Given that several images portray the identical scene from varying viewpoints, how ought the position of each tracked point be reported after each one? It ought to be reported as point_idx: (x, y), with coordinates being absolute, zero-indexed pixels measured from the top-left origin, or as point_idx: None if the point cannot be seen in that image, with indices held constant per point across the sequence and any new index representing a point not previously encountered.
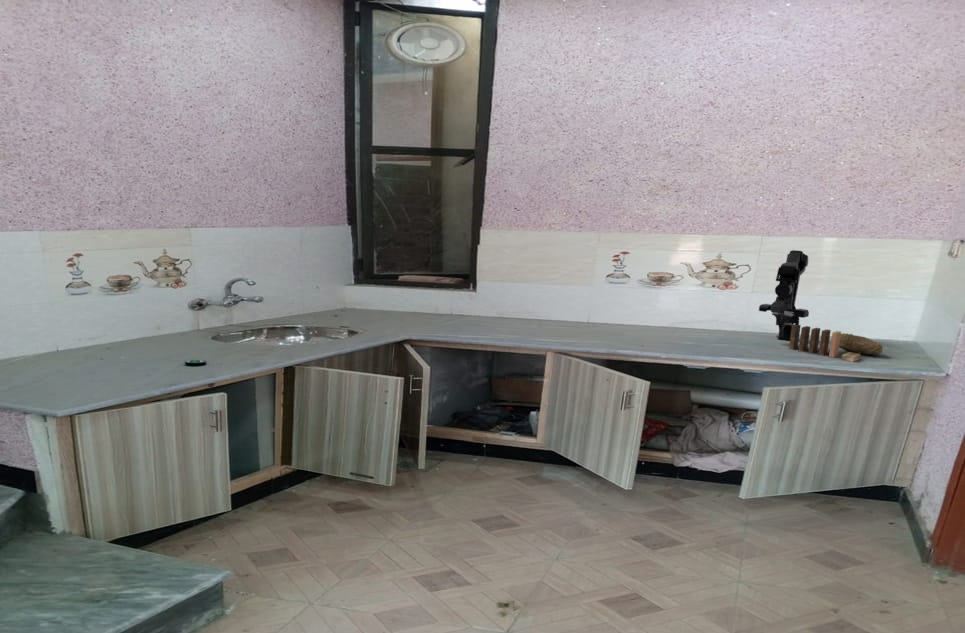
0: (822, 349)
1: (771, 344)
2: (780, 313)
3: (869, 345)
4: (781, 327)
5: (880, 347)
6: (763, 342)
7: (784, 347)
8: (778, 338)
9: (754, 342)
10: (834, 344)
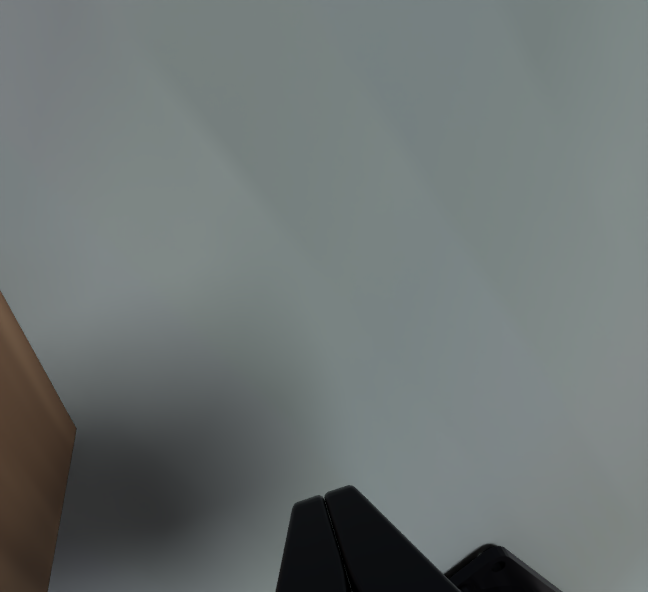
0: None
1: (368, 219)
2: None
3: None
4: (306, 568)
5: None
6: (525, 210)
7: (99, 254)
8: (501, 554)
9: (623, 32)
10: None
